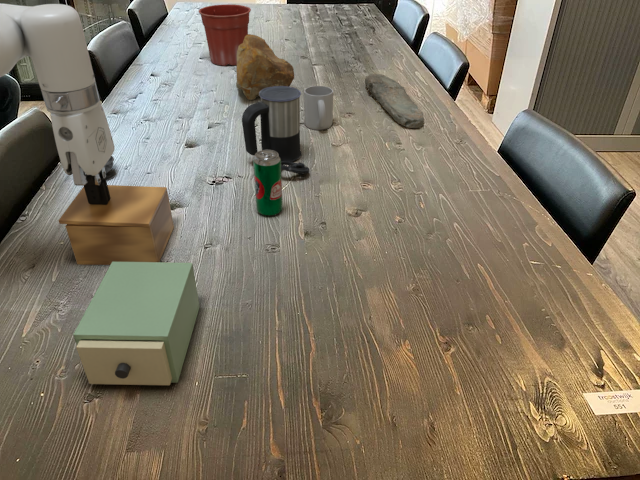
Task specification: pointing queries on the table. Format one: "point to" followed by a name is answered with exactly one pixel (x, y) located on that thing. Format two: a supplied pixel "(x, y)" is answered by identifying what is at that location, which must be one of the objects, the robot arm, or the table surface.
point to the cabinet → (145, 307)
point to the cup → (318, 107)
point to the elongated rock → (395, 100)
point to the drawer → (125, 362)
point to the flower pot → (225, 31)
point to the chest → (122, 240)
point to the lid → (117, 207)
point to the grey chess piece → (109, 169)
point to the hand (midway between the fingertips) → (100, 201)
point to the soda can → (268, 182)
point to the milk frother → (276, 126)
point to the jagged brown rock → (260, 67)
